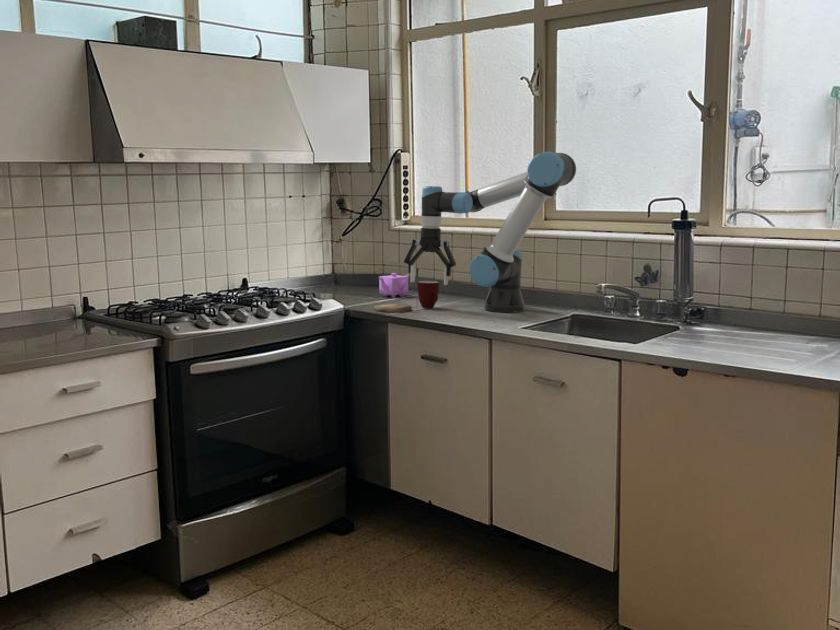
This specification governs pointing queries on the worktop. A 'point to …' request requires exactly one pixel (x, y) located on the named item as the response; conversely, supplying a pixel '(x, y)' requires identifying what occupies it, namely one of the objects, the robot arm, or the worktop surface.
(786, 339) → the worktop surface
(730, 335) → the worktop surface
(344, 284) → the worktop surface
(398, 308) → the trivet
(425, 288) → the mug
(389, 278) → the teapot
